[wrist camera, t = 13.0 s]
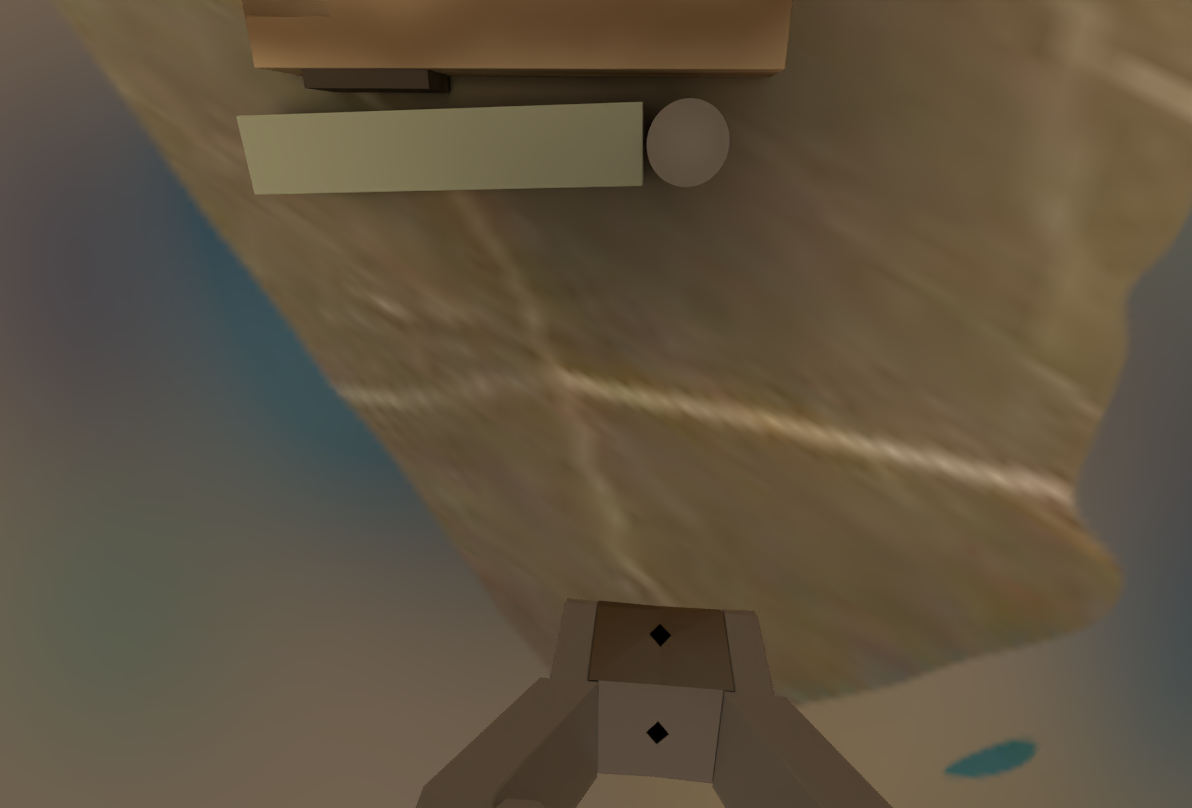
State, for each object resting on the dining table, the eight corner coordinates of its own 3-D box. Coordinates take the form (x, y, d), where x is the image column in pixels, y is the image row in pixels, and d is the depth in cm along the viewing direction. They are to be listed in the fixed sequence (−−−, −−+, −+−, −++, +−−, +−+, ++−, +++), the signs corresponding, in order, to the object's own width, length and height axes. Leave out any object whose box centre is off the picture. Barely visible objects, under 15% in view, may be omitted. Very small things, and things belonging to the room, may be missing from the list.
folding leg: (720, 102, 31) (732, 96, 26) (716, 178, 32) (727, 186, 28) (285, 117, 33) (225, 114, 28) (300, 188, 34) (245, 196, 30)
